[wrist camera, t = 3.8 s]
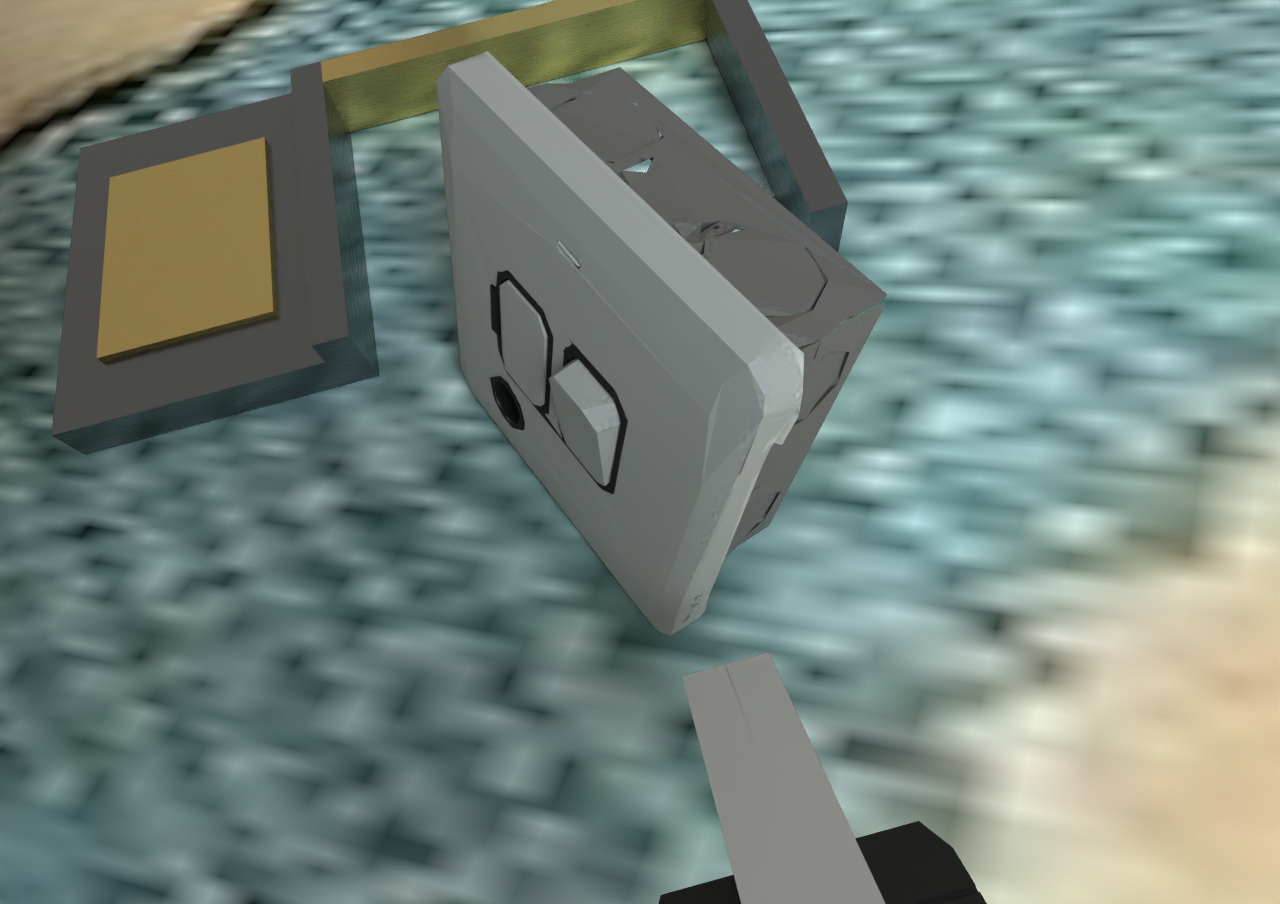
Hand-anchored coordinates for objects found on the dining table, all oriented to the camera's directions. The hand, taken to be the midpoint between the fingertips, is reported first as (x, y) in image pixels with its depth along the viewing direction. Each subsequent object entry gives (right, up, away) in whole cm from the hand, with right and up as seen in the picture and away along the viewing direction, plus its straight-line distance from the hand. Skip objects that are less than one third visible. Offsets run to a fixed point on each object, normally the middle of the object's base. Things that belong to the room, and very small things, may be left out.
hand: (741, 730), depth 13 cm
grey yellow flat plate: (-8, +12, +11) cm, 19 cm away
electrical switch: (-2, +5, +7) cm, 9 cm away
